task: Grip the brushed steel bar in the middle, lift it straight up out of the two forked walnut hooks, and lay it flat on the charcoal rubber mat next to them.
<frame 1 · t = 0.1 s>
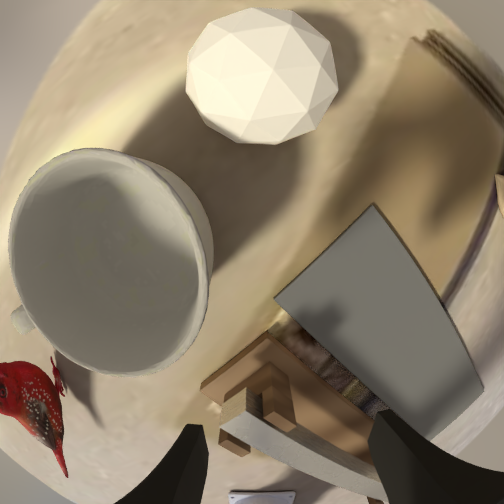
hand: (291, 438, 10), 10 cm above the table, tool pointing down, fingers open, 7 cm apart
geometric ball: (260, 97, 16), on the table
teacup: (128, 249, 18), on the table
mat: (417, 363, 20), on the table
hook stands: (330, 430, 22), on the table
steel bar: (338, 459, 18), point 4 cm above the table, touching hook stands
decorative bird figurine: (65, 390, 22), on the table
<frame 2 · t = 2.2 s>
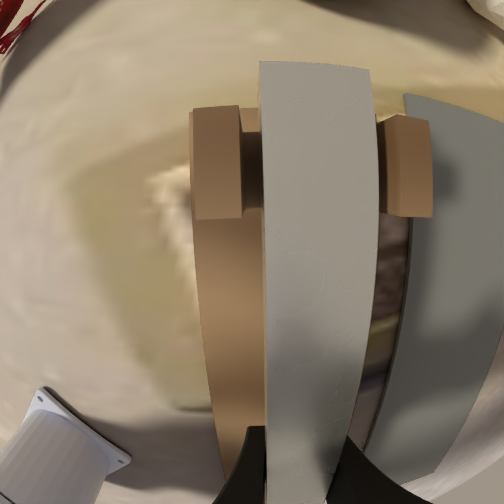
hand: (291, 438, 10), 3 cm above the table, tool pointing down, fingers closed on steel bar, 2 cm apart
geometric ball: (472, 1, 8), on the table
mat: (449, 363, 13), on the table
hook stands: (284, 390, 13), on the table
steel bar: (292, 447, 9), point 4 cm above the table, touching gripper, hook stands
decorative bird figurine: (3, 60, 9), on the table
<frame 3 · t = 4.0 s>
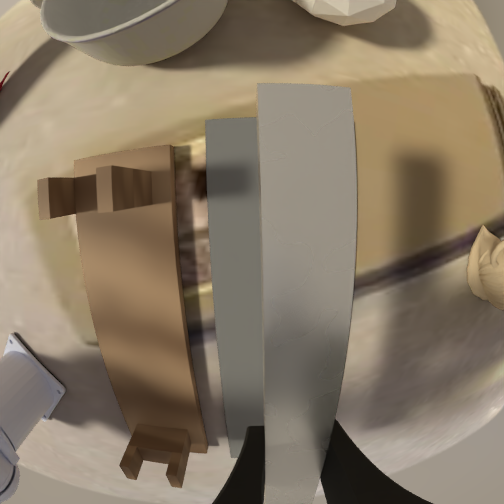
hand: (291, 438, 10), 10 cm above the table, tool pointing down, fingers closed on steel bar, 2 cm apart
geometric ball: (327, 4, 14), on the table
teacup: (144, 20, 14), on the table
mat: (282, 333, 19), on the table
decorative ornament: (480, 262, 18), on the table
hook stands: (142, 332, 19), on the table
steel bar: (289, 427, 10), point 9 cm above the table, touching gripper
when the fingers open (2 cm above the table, at t = 5.8 s): steel bar stays where it is, resting on mat.
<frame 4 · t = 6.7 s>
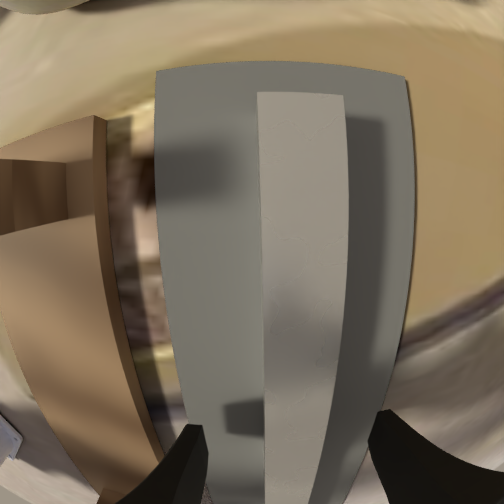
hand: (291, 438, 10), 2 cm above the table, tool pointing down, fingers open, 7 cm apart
mat: (288, 413, 11), on the table
hook stands: (87, 398, 11), on the table
steel bar: (288, 418, 11), resting on mat
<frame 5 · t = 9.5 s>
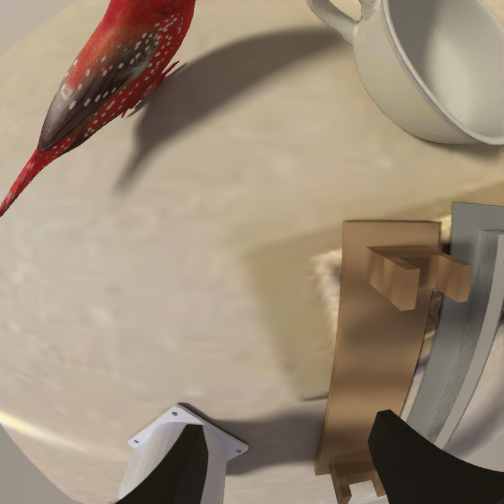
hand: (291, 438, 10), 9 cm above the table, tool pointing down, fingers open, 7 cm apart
teacup: (388, 70, 15), on the table
mat: (461, 357, 20), on the table
hook stands: (371, 378, 20), on the table
steel bar: (462, 359, 19), resting on mat
decorative bird figurine: (128, 114, 16), on the table
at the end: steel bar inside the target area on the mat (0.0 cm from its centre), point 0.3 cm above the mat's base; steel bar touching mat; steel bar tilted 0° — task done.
